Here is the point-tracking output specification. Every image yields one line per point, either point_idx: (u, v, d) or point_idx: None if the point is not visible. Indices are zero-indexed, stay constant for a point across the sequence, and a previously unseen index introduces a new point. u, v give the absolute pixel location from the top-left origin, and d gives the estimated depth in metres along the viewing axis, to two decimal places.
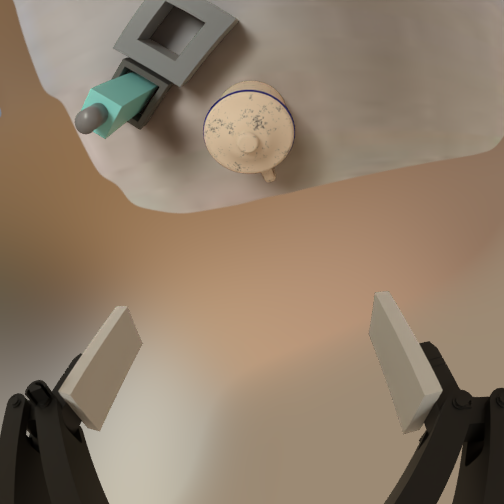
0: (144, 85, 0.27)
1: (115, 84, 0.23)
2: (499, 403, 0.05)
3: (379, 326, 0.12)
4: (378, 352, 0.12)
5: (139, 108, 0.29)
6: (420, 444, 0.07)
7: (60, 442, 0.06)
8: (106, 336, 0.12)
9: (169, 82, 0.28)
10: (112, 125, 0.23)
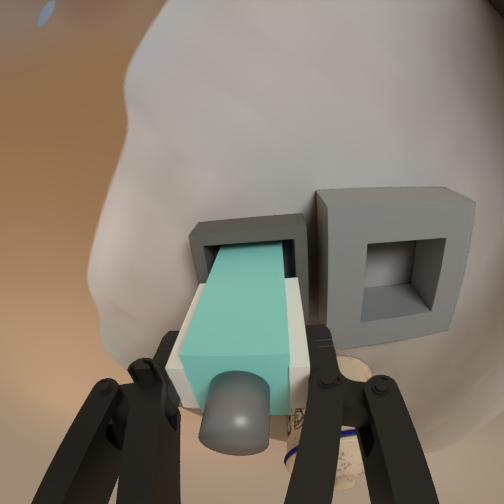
0: None
1: None
2: (377, 392, 0.08)
3: None
4: None
5: None
6: None
7: (154, 433, 0.07)
8: None
9: None
10: None
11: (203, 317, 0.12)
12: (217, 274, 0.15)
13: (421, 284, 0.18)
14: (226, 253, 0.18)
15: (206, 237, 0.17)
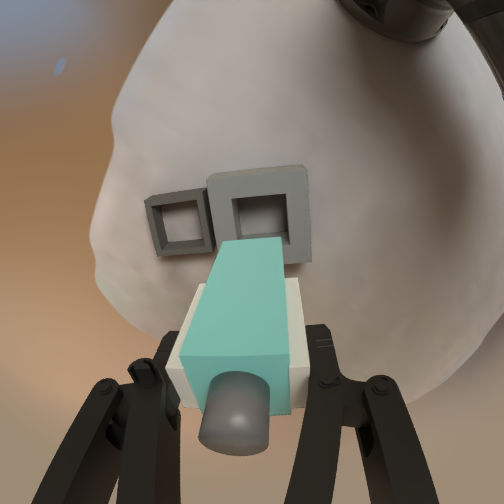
0: None
1: None
2: (377, 392, 0.08)
3: None
4: None
5: None
6: None
7: (154, 433, 0.07)
8: None
9: (213, 245, 0.34)
10: None
11: (203, 318, 0.12)
12: (217, 275, 0.15)
13: (288, 229, 0.32)
14: (226, 254, 0.18)
15: (152, 201, 0.30)
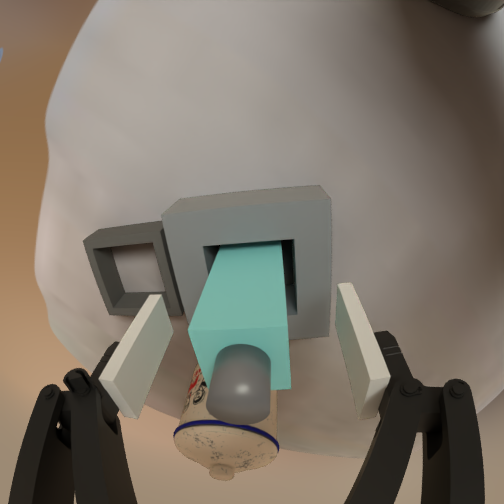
0: None
1: None
2: (453, 395, 0.07)
3: (341, 316, 0.13)
4: (341, 341, 0.13)
5: None
6: (375, 434, 0.08)
7: (95, 435, 0.07)
8: (144, 323, 0.13)
9: None
10: None
11: (209, 298, 0.13)
12: (221, 262, 0.17)
13: None
14: (229, 244, 0.19)
15: (93, 242, 0.19)
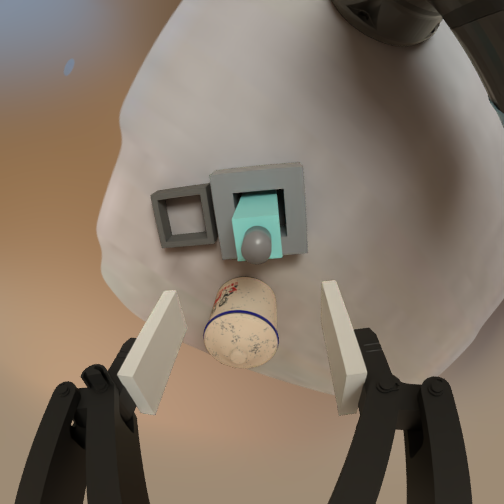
0: None
1: (278, 212, 0.28)
2: (432, 393, 0.07)
3: (325, 313, 0.14)
4: (325, 338, 0.14)
5: None
6: (355, 431, 0.08)
7: (111, 434, 0.07)
8: (160, 318, 0.13)
9: (215, 238, 0.36)
10: None
11: (239, 211, 0.26)
12: (243, 201, 0.30)
13: None
14: (246, 195, 0.32)
15: (158, 195, 0.32)
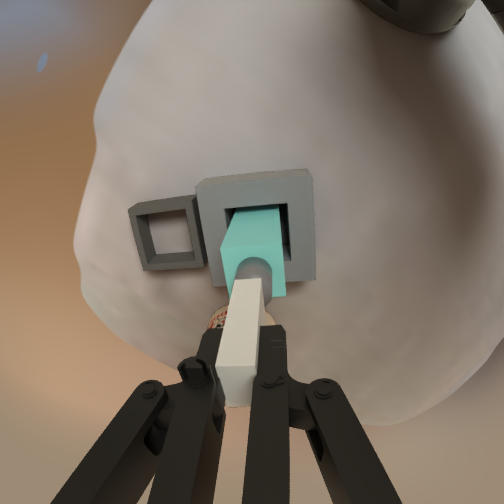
0: None
1: None
2: (320, 396, 0.08)
3: None
4: None
5: None
6: None
7: (198, 437, 0.07)
8: (243, 306, 0.13)
9: (206, 259, 0.30)
10: None
11: (231, 235, 0.21)
12: (237, 218, 0.24)
13: (289, 242, 0.28)
14: (241, 209, 0.26)
15: (137, 210, 0.27)
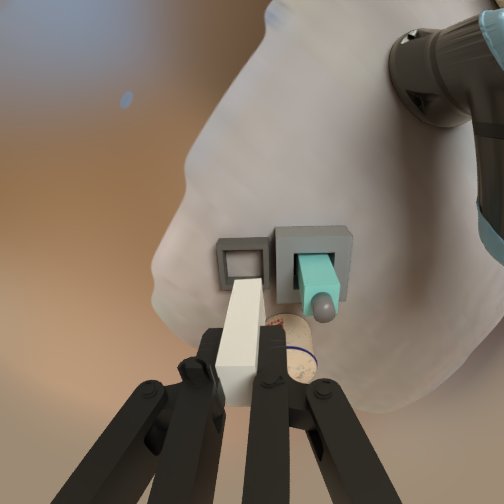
0: None
1: None
2: (320, 396, 0.08)
3: None
4: None
5: None
6: None
7: (198, 437, 0.07)
8: (243, 306, 0.13)
9: (269, 283, 0.42)
10: None
11: (306, 276, 0.33)
12: (303, 261, 0.36)
13: None
14: None
15: (224, 246, 0.38)
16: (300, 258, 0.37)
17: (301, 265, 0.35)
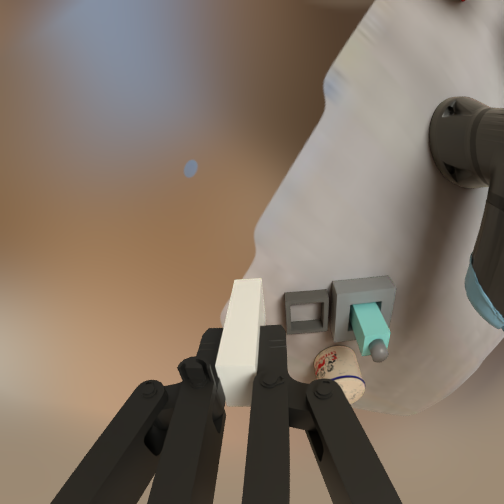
0: None
1: None
2: (319, 396, 0.08)
3: None
4: None
5: None
6: None
7: (198, 437, 0.07)
8: (243, 306, 0.13)
9: None
10: (371, 353, 0.38)
11: (364, 326, 0.38)
12: (358, 311, 0.42)
13: None
14: None
15: (292, 301, 0.44)
16: (355, 307, 0.43)
17: (357, 315, 0.41)
